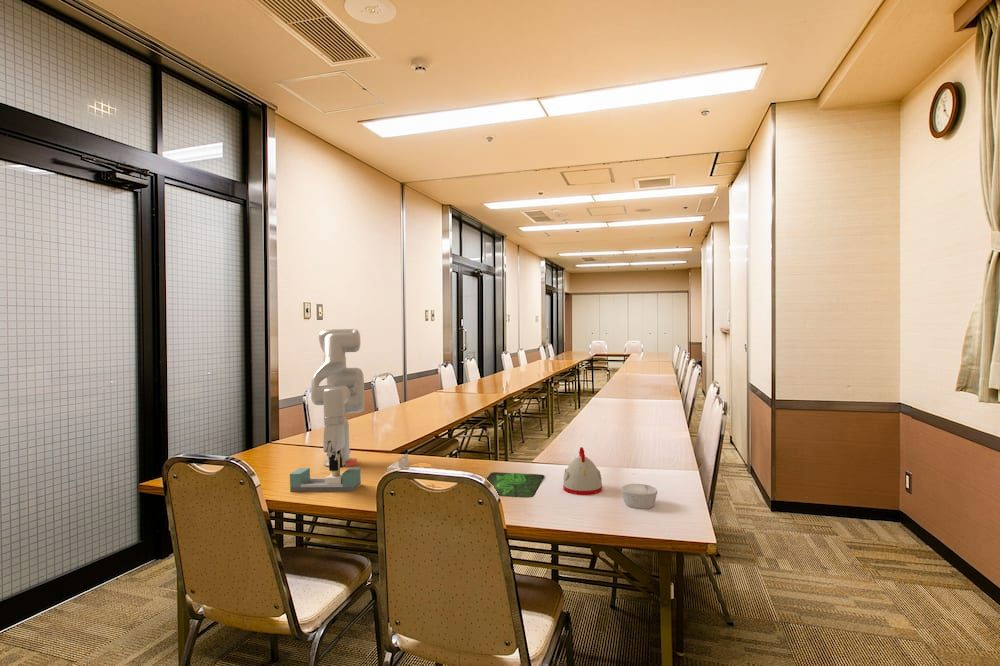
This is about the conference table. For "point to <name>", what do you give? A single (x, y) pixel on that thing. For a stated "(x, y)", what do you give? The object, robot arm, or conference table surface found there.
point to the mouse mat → (515, 484)
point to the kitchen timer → (582, 477)
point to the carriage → (335, 475)
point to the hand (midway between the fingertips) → (335, 468)
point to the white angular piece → (399, 463)
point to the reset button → (351, 463)
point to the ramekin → (639, 496)
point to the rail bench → (304, 483)
